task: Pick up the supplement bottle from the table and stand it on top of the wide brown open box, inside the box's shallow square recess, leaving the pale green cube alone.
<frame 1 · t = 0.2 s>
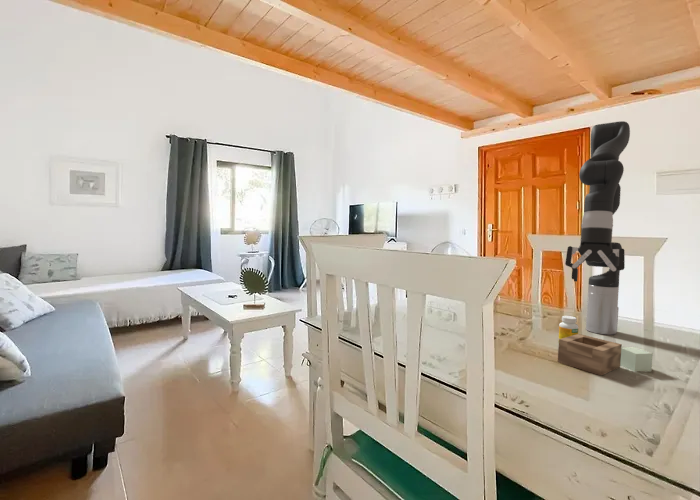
hand: (592, 283, 105), 22 cm above the table, tool pointing down, fingers open, 8 cm apart
green cube: (634, 368, 99), on the table
supplement bottle: (567, 347, 116), on the table
brown open box: (588, 364, 101), on the table
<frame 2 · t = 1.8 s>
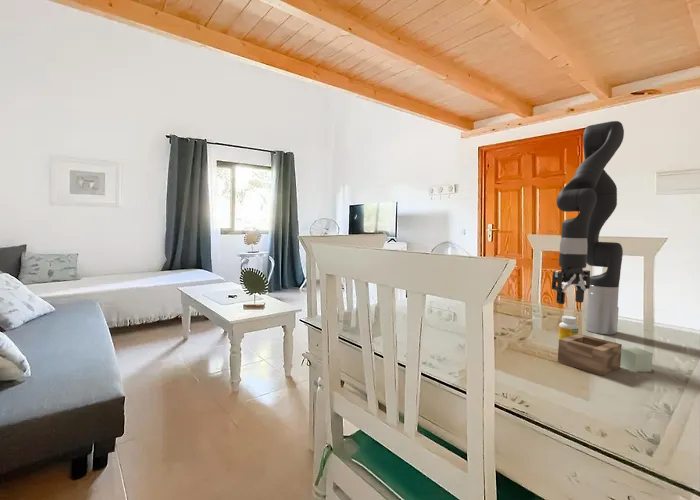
hand: (569, 302, 115), 14 cm above the table, tool pointing down, fingers open, 8 cm apart
nothing on the table moved.
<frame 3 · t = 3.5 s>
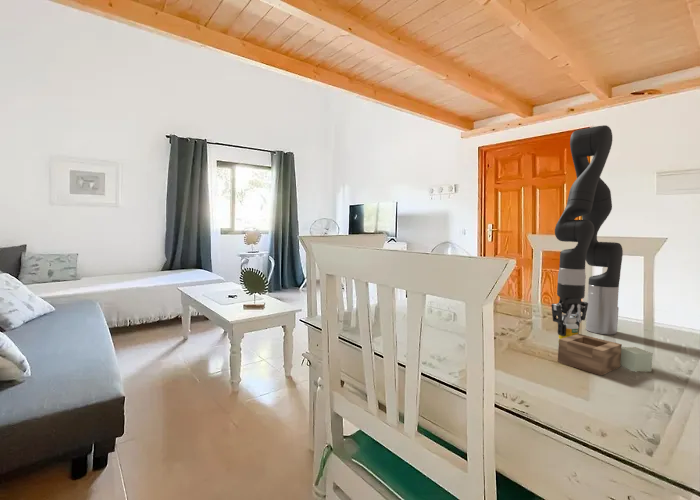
hand: (568, 334, 116), 4 cm above the table, tool pointing down, fingers closed on supplement bottle, 5 cm apart
supplement bottle: (567, 347, 116), on the table, touching gripper
everything else where it was.
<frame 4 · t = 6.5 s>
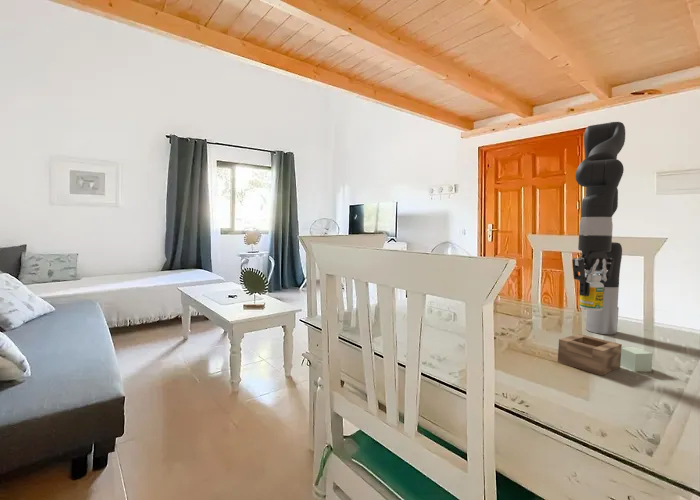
hand: (591, 294, 100), 20 cm above the table, tool pointing down, fingers closed on supplement bottle, 5 cm apart
supplement bottle: (590, 309, 100), point 15 cm above the table, touching gripper
everything else where it was.
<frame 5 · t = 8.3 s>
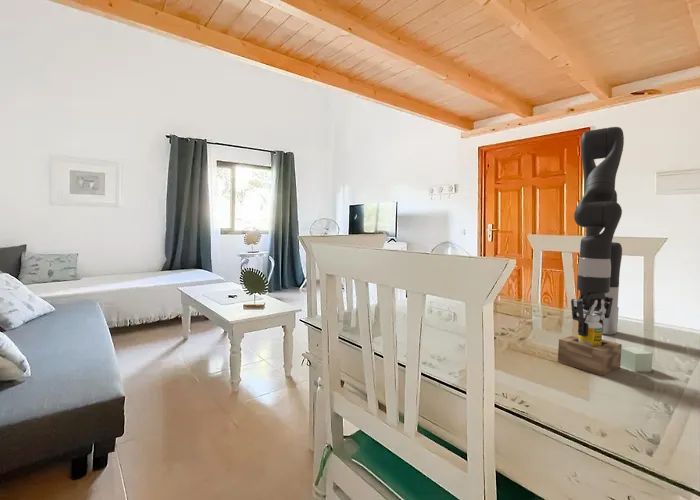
hand: (590, 334, 100), 9 cm above the table, tool pointing down, fingers closed on supplement bottle, 5 cm apart
supplement bottle: (589, 349, 101), point 4 cm above the table, touching gripper
everything else where it was.
when the fingers open (8 cm above the table, at t = 9.8 s): supplement bottle stays where it is, resting on brown open box.
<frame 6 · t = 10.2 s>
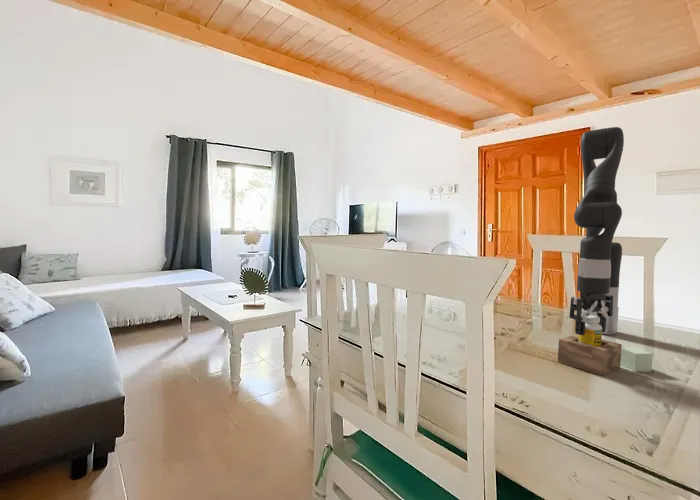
hand: (590, 333, 100), 9 cm above the table, tool pointing down, fingers open, 8 cm apart
supplement bottle: (589, 351, 101), point 4 cm above the table, touching brown open box
everything else where it was.
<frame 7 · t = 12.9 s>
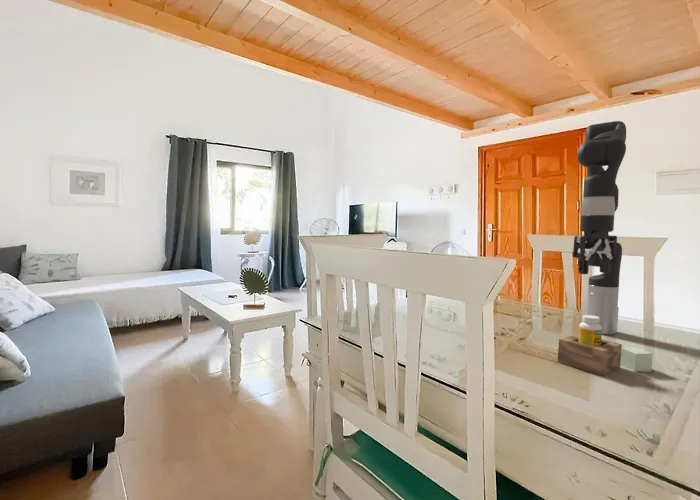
hand: (593, 273, 99), 26 cm above the table, tool pointing down, fingers open, 8 cm apart
nothing on the table moved.
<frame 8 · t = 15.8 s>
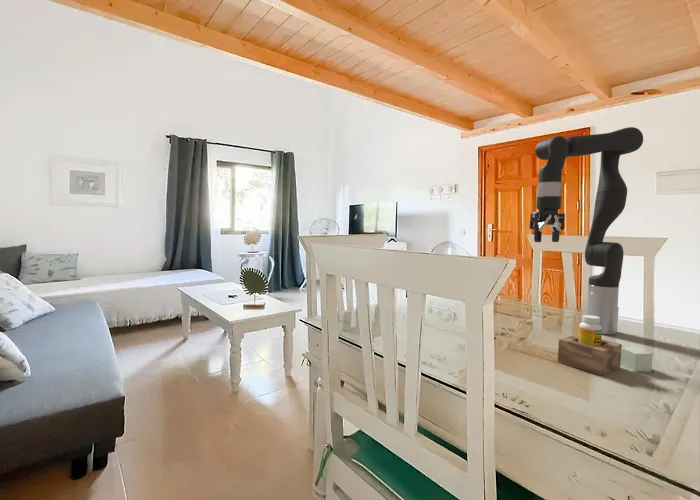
hand: (546, 242, 128), 33 cm above the table, tool pointing down, fingers open, 8 cm apart
nothing on the table moved.
at the end: supplement bottle 0.1 cm from the brown open box (horizontally); supplement bottle touching brown open box; supplement bottle tilted 0° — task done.
